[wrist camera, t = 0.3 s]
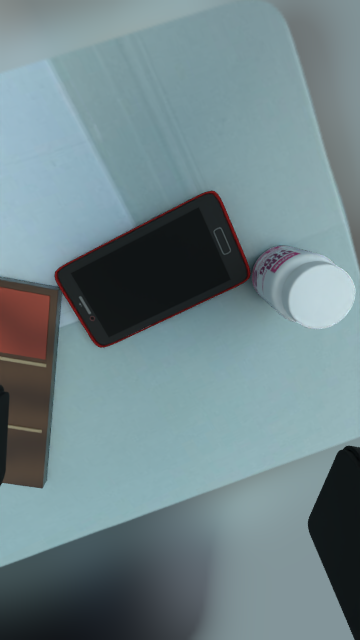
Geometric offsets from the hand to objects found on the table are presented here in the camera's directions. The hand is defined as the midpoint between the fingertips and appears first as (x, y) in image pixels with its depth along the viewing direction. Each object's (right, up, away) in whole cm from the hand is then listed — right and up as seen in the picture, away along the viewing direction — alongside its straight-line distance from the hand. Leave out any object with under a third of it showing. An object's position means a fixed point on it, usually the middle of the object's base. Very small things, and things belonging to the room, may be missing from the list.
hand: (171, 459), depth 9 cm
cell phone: (-2, +8, +18) cm, 19 cm away
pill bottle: (+9, +8, +18) cm, 21 cm away
